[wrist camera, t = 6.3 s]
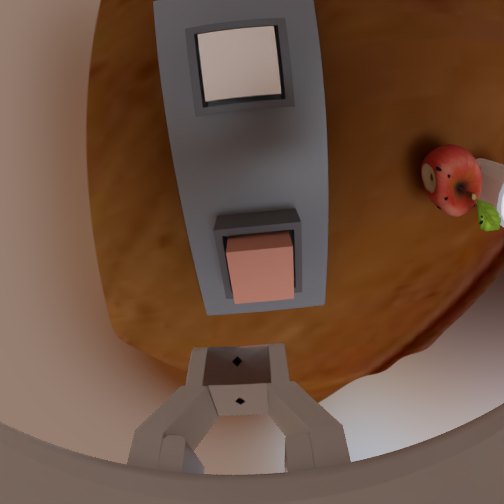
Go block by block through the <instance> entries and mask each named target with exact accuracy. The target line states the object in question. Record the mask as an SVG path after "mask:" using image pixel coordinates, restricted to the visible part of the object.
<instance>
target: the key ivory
mask: <svg viewBox="0 0 504 504" xmlns="http://www.w3.org/2000/svg"><path fill="white" fill-rule="evenodd" d="M197 35H198V44H199V53H200V61H201V70H202V78H203V86H204V94H205V102H211V101H218V100H226V99H234V98H243V97H253V96H265V95H278V94H281V85H280V75H279V66H278V57H277V48H276V40H275V32H274V26H266V27H251V28H240V29H231V30H223V31H216V32H209V33H203V34H197Z"/></svg>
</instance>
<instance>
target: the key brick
mask: <svg viewBox="0 0 504 504" xmlns="http://www.w3.org/2000/svg"><path fill="white" fill-rule="evenodd" d="M226 256H227V262H228V268H229V274H230V280H231V285H232V291H233V297H234V302H235V304H241V303H253V302H264V301H275V300H285V299H294V268H293V245H292V242H291V238H290V235H289V231H288V230H283V231H272V232H261V233H251V234H240V235H230V236H228V240H227V248H226Z"/></svg>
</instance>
